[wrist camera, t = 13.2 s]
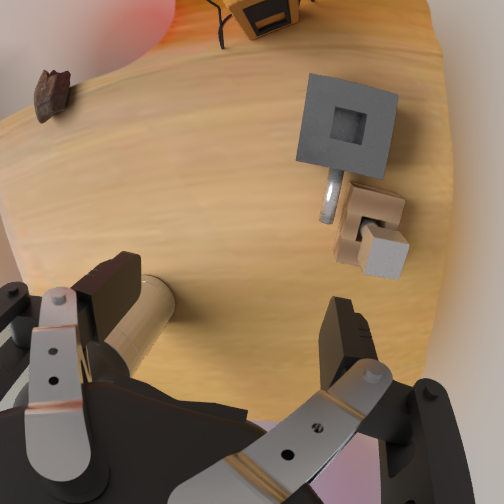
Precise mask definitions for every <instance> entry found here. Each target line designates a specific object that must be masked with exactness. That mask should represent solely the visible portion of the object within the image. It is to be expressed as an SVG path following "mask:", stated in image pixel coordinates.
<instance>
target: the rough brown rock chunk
mask: <svg viewBox="0 0 504 504" xmlns="http://www.w3.org/2000/svg"><path fill="white" fill-rule="evenodd" d="M70 76H71V74H70V73H69V71H65V72H62V73H57V72H56V71H55V70H53V71H52V72H51V73H50V74H49V73H48V72H47V71H45V70H44V71H43V73H42V75H41V77H40V79H39V81H38V84H37V86H36V88H35V92H34V106H35V112H36V116H37V119H38V121H39V122H40V123H41V124H42V123H44V122H46V121H47V120H48V119H50V118H51V117H52V116H53V115H54V114H55V113H57V112H62V111H64V110H65V107H66V100H67V97H68V95H69V86H70Z"/></svg>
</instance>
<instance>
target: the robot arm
mask: <svg viewBox="0 0 504 504" xmlns="http://www.w3.org/2000/svg"><path fill="white" fill-rule="evenodd" d="M174 311H175V298H174V296H173V293H172V292H171V290H170V289H169V287H168V286H167V285H166V284H165V283H163V282H162V281H161V280H159V279H157V278H156V277H153V276H148V275H142V276H141V257H140V255H138V254H134V253H130V252H126V251H122V252H121V253H119V254H118V255H117V256H116V257H114V258H113V259H110V260H107V261H105V262H102V263H100V264H99V265H98V266H96V267H95V268H94V269H93V270H91V271H90V272H89V273H88V275H85V276H84V277H83V278H81V279H80V280H79V281H78V282H77V283H75V284H74V285H73V286H72V287H71V288H68V287H56V288H53V289H50V290H48V291H47V292H46V293H45V294H44V295H43V297H40V296H31V295H29V291H28V287H27V285H26V284H25V283H22V282H11V283H8V284H6V285H4V286H3V287H1V288H0V332H2V330H4V329H5V328H6V327H7V326H8V328H9V330H10V333H11V337H10V338H9V339H8V340H7V341H6V342H5V343H4V345H2V346H1V348H0V401H1V400H2V399H3V397H4V396H5V395H6V393H7V392H8V391H9V389H10V388H11V387H12V385H13V384H14V383H15V382H16V380H17V379H18V378H19V376H20V375H21V374H22V373H23V371H24V370H25V369H26V368H27V366H28V365H29V364H30V365H29V382H28V383H27V384H26V385H25V386H24V387H23V388H22V390H21V391H20V392H19V394H18V396H17V397H16V399H15V402H14V405H13V408H11V409H7V410H4V411H1V412H0V504H324V503H323V502H322V501H321V499H320V498H319V497H318V495H317V494H316V493H315V491H314V490H313V489H312V487H311V486H310V484H311V483H312V482H313V481H314V480H315V479H316V478H317V477H318V476H319V475H320V474H321V473H322V472H323V471H324V470H325V468H326V467H327V466H328V465H329V464H330V463H331V462H332V461H333V459H334V458H336V456H337V455H338V454H339V453H340V452H341V451H342V450H343V449H344V447H345V446H346V445H347V444H348V443H349V442H350V441H351V439H352V438H353V437H354V436H355V435H356V433H357V432H359V433H362V434H365V435H368V436H371V437H374V438H377V439H378V443H379V458H380V475H381V476H380V477H381V504H475V498H474V493H473V487H472V482H471V477H470V472H469V468H468V464H467V459H466V455H465V451H464V447H463V443H462V440H461V436H460V433H459V429H458V426H457V423H456V419H455V415H454V412H453V409H452V406H451V403H450V400H449V397H448V394H447V391H446V390H445V388H444V387H443V386H442V385H441V384H439V383H438V382H436V381H434V380H432V379H428V378H423V379H420V380H418V381H417V382H416V383H415V385H414V386H413V387H411V386H408V385H405V384H402V383H399V382H397V381H394V380H393V376H392V373H391V371H390V369H389V368H388V367H387V366H386V365H385V364H383V363H382V362H380V361H378V357H377V354H376V350H375V346H374V343H373V339H372V336H371V332H370V329H369V325H368V322H367V321H366V319H365V318H364V317H363V316H362V315H361V314H360V313H354V309H353V305H352V302H351V300H350V299H345V298H340V297H335V296H333V297H332V298H331V300H330V303H329V306H328V309H327V312H326V315H325V318H324V320H323V323H322V326H321V329H320V334H319V359H320V382H321V389H320V390H319V391H318V392H317V393H315V394H314V395H313V396H312V397H311V398H310V399H308V400H307V401H306V402H305V403H304V404H303V405H301V406H300V407H299V408H298V409H296V410H295V411H294V412H293V413H292V414H290V415H289V416H288V417H287V418H285V419H284V420H283V421H282V422H280V423H279V424H278V425H276V426H275V427H274V428H273V429H271V430H270V431H269V432H267V431H266V430H264V429H263V428H261V427H259V426H258V425H256V424H254V423H253V422H250V421H248V420H246V418H247V413H248V410H244V409H239V408H235V407H230V406H226V405H221V404H217V403H208V402H191V401H179V400H176V399H174V398H172V397H170V396H168V395H167V394H165V393H163V392H161V391H160V390H158V389H156V388H154V387H153V386H151V385H149V384H147V383H144V382H141V381H138V380H136V379H133V378H132V376H133V375H134V373H135V371H136V370H137V368H138V367H139V365H140V363H141V362H142V360H143V359H144V357H145V356H146V355H147V354H148V353H149V351H150V349H151V348H152V346H153V345H154V343H155V342H156V340H157V339H158V337H159V336H160V334H161V332H162V331H163V329H164V328H165V326H166V325H167V323H168V321H169V319H170V318H171V316H172V314H173V313H174Z"/></svg>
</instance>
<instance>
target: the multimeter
mask: <svg viewBox="0 0 504 504" xmlns="http://www.w3.org/2000/svg"><path fill="white" fill-rule="evenodd" d="M207 1H208V2H209V3H211V4H212V5H214V6H216V7H217V8H218V13H219V22H220V27H219V32H218V34H219V41H220V46H221V49H224V40H223V30H222V24H223V23H224V22H225V21H226V20H227V19H228V18H229V17H230V16H231V15H232V16H233V17H234V18H235V20H236V21H237V23H238V24H239V26H240V27H241V29H242V30H243V31H244V33H245V34H246V36H247V38H248V39H249V40H254V39H256V38H258V37H260V36H262V35H265V34H267V33H270V32H272V31H275V30H278V29H280V28H283V27H286V26H288V25H292V24H295V23H297V22H298V21H299V10H298V9H299V5H300V0H223V2H224V3H225V5H226V7H227V8H228V10H229V11H230V13H231V14H230V15H228V16H227V17H226V18H225V19H224V20H223V21H222V20H221V9H220V7H219V6H218V5H217V4H215V3H214V2H212V1H211V0H207ZM311 2H314V0H311ZM220 31H221V37H220ZM221 41H222V42H221Z"/></svg>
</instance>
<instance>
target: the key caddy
mask: <svg viewBox="0 0 504 504" xmlns="http://www.w3.org/2000/svg"><path fill="white" fill-rule="evenodd" d="M405 201H406V200H405V199H404V198H402V197H401V196H400V195H398V194H397V193H394V192H390V191H386V190H382V189H378V188H374V187H370V186H366V185H362V184H358V183H353V182H349V185H348V190H347V194H346V199H345V203H344V208H343V212H342V216H341V220H340V225H339V229H338V233H337V237H336V241H335V245H334V249H333V251H334V256H335V260H336V262H340V263H345V264H350V265H355V266H360V264H359V261H358V258H357V257H358V254H359V250H360V246H361V242H362V238H363V237H362V235H361V233H360V231H359V225H360V221H361V217H362V216H365V217H369V218H372V219H373V220H374V222H375V223H376V224H377V226H378V227H381V228H386V229H391V230H395V231H397V230H398V227H399V223H400V220H401V216H402V212H403V209H404V205H405ZM360 267H361V266H360Z"/></svg>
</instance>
